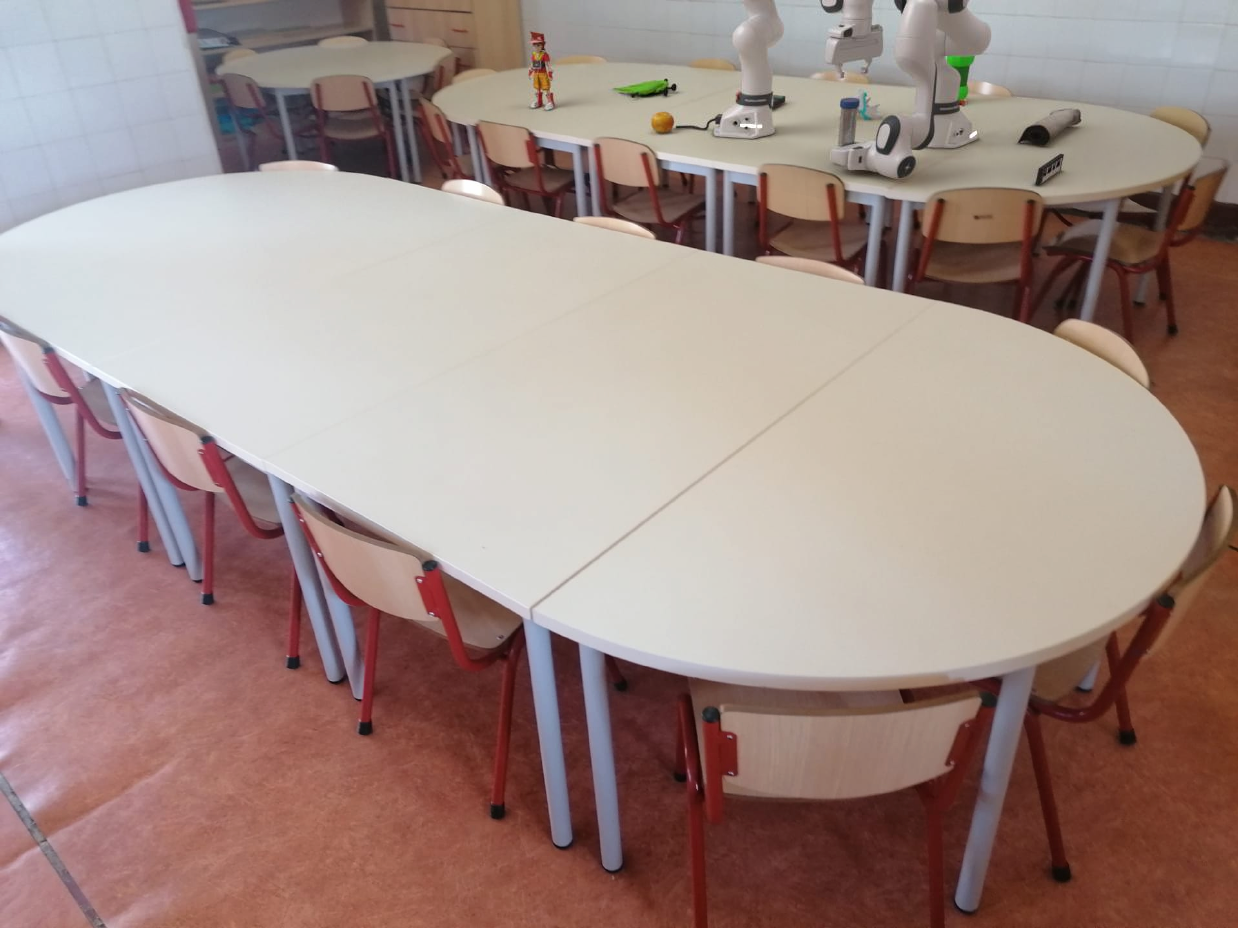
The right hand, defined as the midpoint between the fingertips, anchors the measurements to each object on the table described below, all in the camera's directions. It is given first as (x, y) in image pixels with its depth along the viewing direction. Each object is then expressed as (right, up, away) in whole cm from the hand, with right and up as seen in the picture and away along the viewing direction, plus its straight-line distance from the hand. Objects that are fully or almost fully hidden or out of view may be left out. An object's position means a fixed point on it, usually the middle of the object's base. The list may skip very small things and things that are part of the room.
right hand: (844, 146), depth 295 cm
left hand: (-1, +17, -13) cm, 22 cm away
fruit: (-58, +22, +46) cm, 77 cm away
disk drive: (-14, +41, +70) cm, 82 cm away
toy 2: (-65, +60, +102) cm, 135 cm away
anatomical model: (+20, +29, +50) cm, 62 cm away
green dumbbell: (+59, +39, +60) cm, 92 cm away
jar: (+1, -5, +2) cm, 5 cm away
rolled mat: (+76, +9, +16) cm, 78 cm away
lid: (0, +11, -9) cm, 14 cm away
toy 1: (-107, +48, +88) cm, 146 cm away
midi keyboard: (+58, -17, -20) cm, 63 cm away
